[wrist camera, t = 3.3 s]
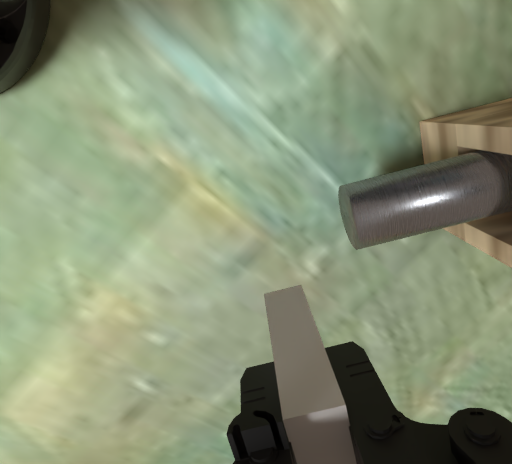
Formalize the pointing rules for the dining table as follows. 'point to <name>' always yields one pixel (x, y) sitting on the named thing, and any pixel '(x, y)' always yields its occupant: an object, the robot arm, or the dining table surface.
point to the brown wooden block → (466, 141)
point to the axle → (426, 198)
